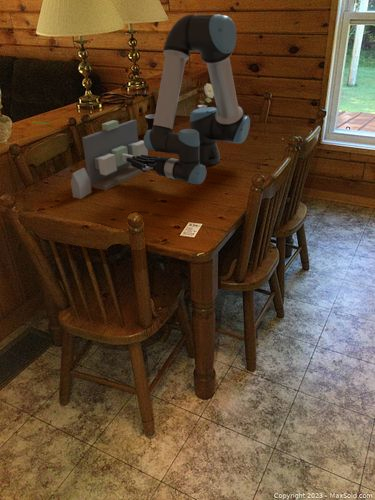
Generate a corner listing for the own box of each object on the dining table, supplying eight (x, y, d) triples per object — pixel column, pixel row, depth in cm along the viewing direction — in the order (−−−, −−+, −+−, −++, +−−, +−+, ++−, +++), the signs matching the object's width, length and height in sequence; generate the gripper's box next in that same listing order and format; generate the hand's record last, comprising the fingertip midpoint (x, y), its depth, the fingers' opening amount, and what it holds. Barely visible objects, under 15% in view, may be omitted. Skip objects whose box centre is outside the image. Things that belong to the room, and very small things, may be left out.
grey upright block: (91, 192, 171) (88, 168, 165) (80, 198, 166) (76, 174, 160) (84, 190, 172) (80, 166, 167) (73, 197, 167) (69, 172, 162)
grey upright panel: (152, 167, 192) (148, 116, 181) (105, 190, 171) (98, 134, 160) (125, 161, 200) (120, 111, 188) (77, 182, 179) (68, 128, 168)
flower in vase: (198, 135, 231) (198, 86, 218) (188, 130, 240) (187, 83, 227) (219, 132, 236) (220, 84, 223) (208, 127, 245) (209, 80, 232)
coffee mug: (160, 137, 230) (159, 118, 225) (144, 136, 232) (143, 118, 226) (165, 131, 240) (164, 113, 234) (150, 130, 241) (149, 112, 236)
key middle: (128, 161, 183) (127, 146, 179) (118, 166, 178) (116, 151, 175) (113, 158, 187) (112, 143, 183) (103, 162, 182) (101, 147, 179)
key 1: (116, 170, 174) (115, 154, 171) (105, 175, 170) (103, 159, 167) (101, 166, 179) (99, 151, 175) (90, 171, 174) (88, 155, 171)
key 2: (148, 156, 188) (147, 141, 185) (138, 160, 184) (137, 145, 180) (133, 152, 193) (131, 138, 189) (123, 156, 188) (122, 142, 185)
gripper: (159, 182, 164) (113, 170, 176) (178, 171, 173) (133, 161, 185) (158, 163, 160) (111, 152, 172) (178, 153, 169) (132, 143, 181)
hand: (123, 157), depth 178 cm, fingers closed
